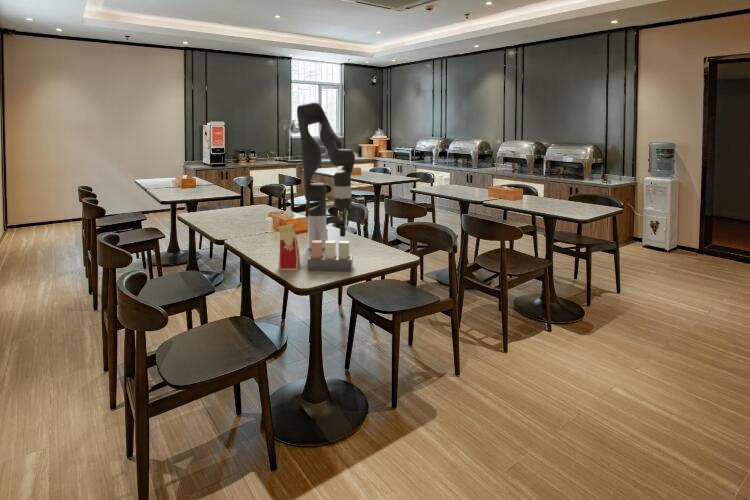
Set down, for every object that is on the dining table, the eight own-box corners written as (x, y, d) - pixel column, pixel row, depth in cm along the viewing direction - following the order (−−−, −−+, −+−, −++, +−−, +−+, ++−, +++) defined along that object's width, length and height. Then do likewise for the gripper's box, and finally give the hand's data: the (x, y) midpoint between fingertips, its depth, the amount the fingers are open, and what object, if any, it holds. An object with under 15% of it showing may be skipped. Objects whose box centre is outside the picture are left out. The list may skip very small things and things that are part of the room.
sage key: (338, 259, 223) (338, 242, 221) (339, 257, 227) (339, 240, 225) (348, 259, 222) (348, 243, 221) (349, 257, 226) (349, 241, 225)
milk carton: (300, 264, 230) (299, 221, 226) (297, 270, 221) (296, 225, 217) (279, 264, 230) (278, 221, 225) (276, 270, 221) (275, 225, 216)
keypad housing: (307, 270, 222) (307, 259, 220) (310, 265, 230) (310, 254, 229) (351, 271, 221) (351, 260, 220) (352, 265, 230) (352, 255, 229)
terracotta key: (311, 258, 223) (311, 242, 221) (312, 256, 227) (312, 240, 225) (321, 259, 223) (320, 242, 221) (322, 256, 227) (322, 240, 225)
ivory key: (325, 259, 223) (325, 242, 221) (326, 256, 227) (326, 240, 225) (334, 259, 223) (334, 242, 221) (335, 256, 227) (335, 240, 225)
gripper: (335, 194, 225) (335, 233, 228) (332, 198, 212) (332, 239, 215) (352, 194, 224) (352, 233, 228) (350, 198, 211) (350, 239, 215)
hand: (342, 236), depth 222 cm, fingers closed
